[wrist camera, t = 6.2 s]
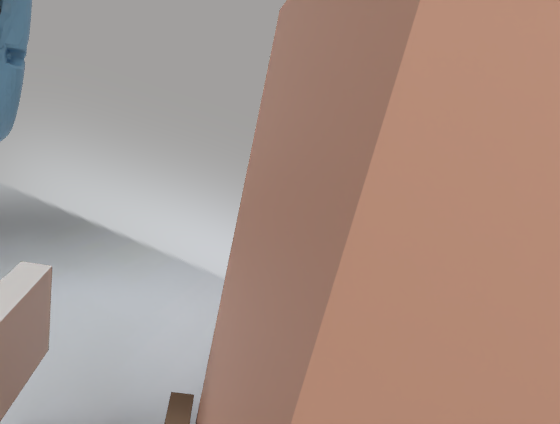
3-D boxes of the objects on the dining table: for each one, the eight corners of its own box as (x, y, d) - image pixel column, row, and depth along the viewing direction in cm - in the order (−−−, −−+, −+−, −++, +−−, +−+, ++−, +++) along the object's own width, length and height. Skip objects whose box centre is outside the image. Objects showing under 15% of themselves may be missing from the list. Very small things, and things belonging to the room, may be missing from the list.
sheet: (186, 469, 19) (280, 9, 13) (228, 473, 20) (341, 25, 13) (104, 1036, 8) (514, -318, 2) (204, 1024, 8) (906, -154, 2)
